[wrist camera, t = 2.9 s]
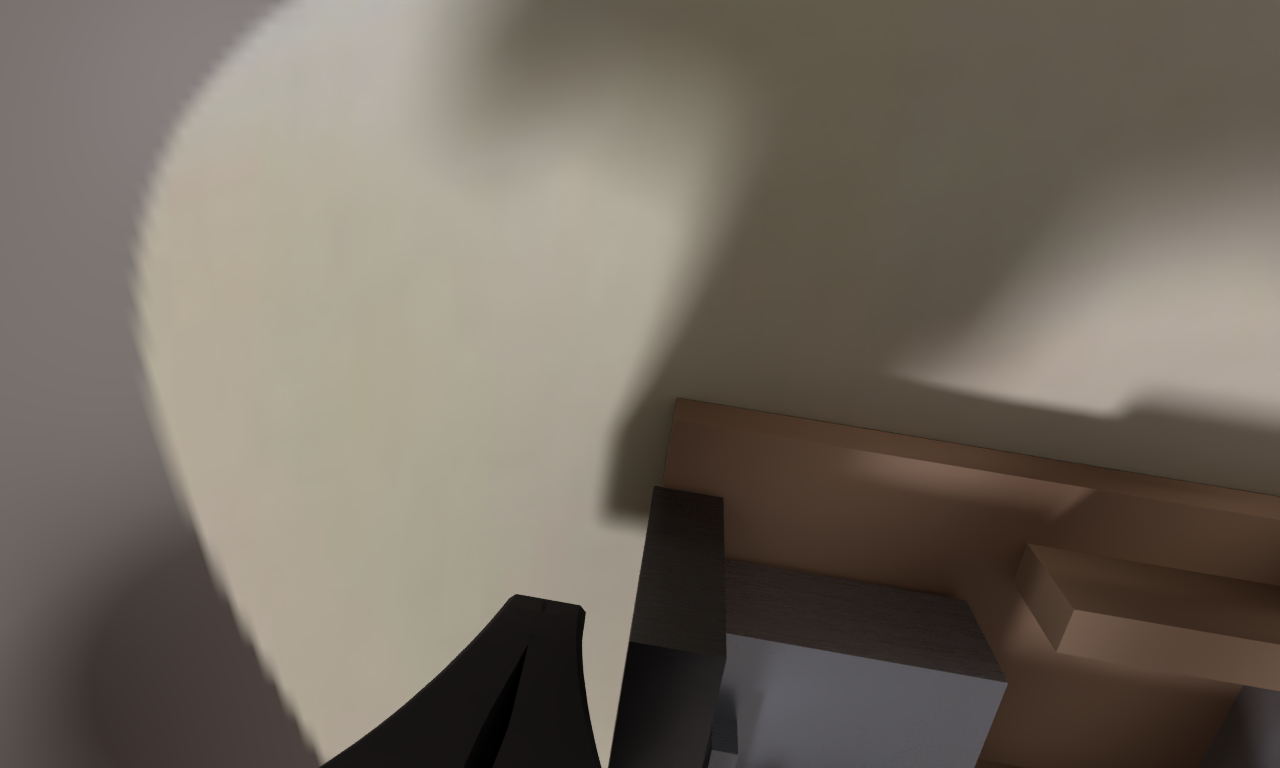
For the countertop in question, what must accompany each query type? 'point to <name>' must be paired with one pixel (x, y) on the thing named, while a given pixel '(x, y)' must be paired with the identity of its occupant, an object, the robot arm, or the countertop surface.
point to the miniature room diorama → (1028, 577)
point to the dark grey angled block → (791, 663)
